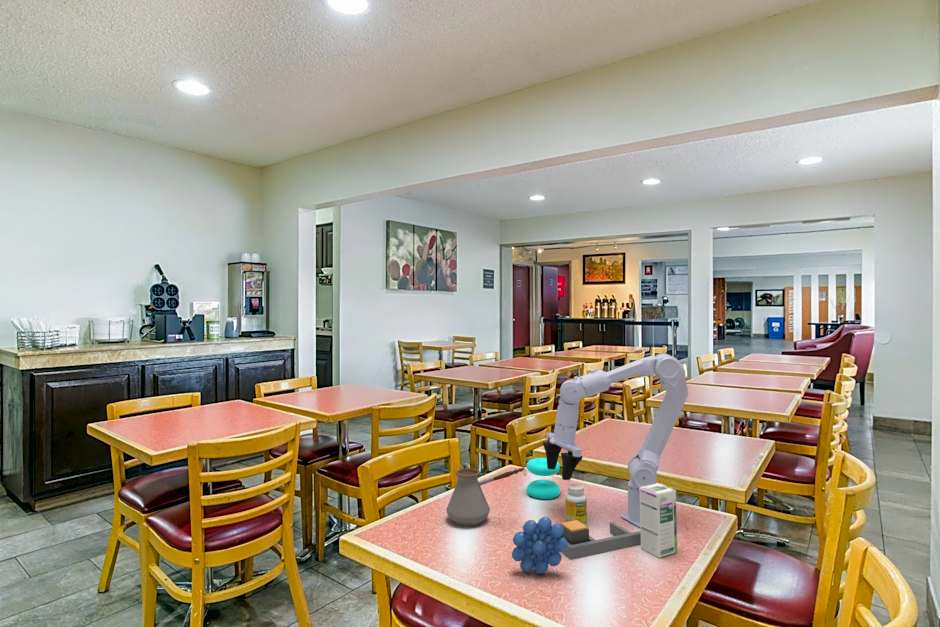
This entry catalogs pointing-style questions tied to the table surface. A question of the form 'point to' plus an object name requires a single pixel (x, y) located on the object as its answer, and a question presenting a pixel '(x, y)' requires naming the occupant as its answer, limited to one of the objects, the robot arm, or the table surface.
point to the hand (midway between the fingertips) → (558, 474)
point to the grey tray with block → (586, 545)
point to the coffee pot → (471, 497)
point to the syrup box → (658, 519)
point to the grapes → (539, 545)
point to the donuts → (542, 487)
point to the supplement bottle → (576, 504)
